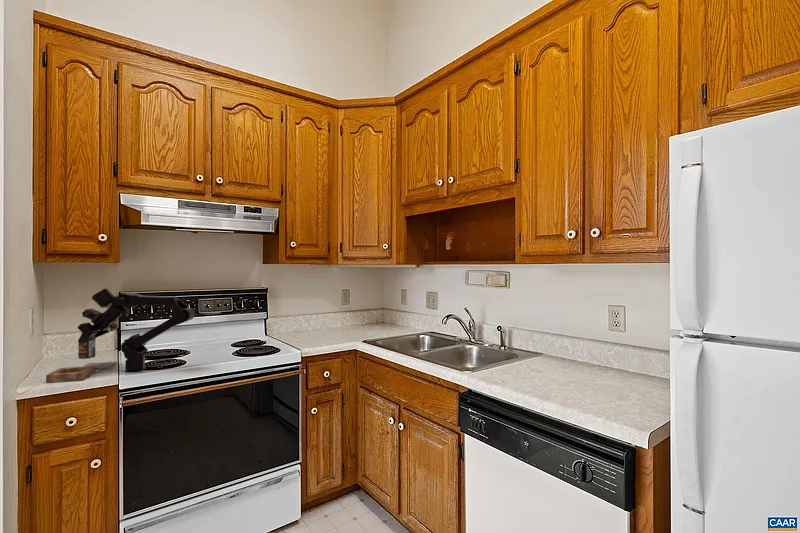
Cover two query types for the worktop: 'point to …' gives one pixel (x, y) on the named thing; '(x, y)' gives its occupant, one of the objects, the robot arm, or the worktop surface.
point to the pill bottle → (87, 349)
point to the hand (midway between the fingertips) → (83, 341)
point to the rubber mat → (102, 365)
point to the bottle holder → (70, 374)
